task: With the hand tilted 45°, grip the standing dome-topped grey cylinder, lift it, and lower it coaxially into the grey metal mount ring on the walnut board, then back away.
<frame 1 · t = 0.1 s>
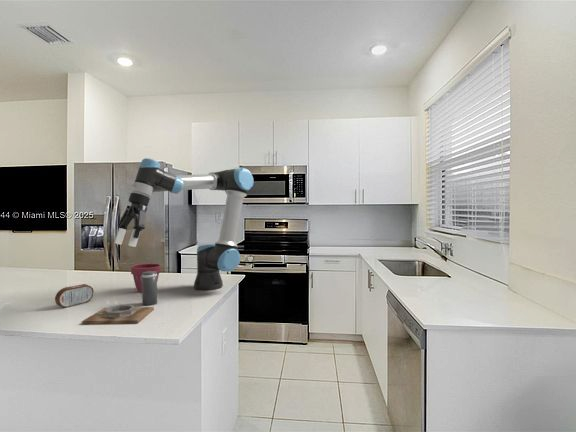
hand: (124, 245, 128), 28 cm above the countertop, tool tilted 20°, fingers open, 13 cm apart
plant pot: (146, 290, 167), on the countertop
dome-topped grey cylinder: (149, 303, 143), on the countertop
mount board: (120, 316, 126), on the countertop
tin: (75, 305, 141), on the countertop
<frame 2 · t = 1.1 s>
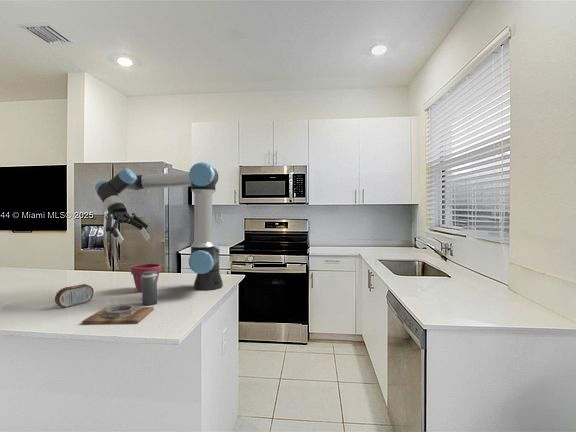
hand: (135, 240, 147), 28 cm above the countertop, tool tilted 45°, fingers open, 13 cm apart
nothing on the countertop moved.
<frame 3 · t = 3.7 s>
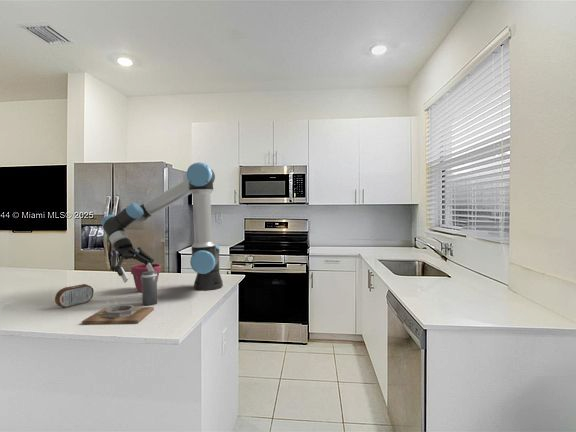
hand: (140, 277, 145), 11 cm above the countertop, tool tilted 45°, fingers open, 13 cm apart
nothing on the countertop moved.
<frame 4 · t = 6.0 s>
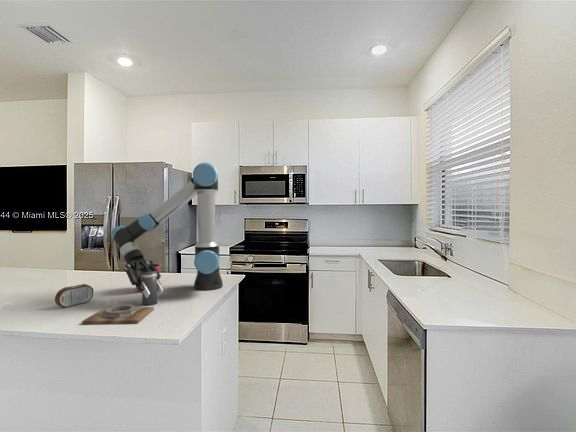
hand: (154, 293, 141), 5 cm above the countertop, tool tilted 45°, fingers closed on dome-topped grey cylinder, 6 cm apart
dome-topped grey cylinder: (149, 303, 143), on the countertop, touching gripper
everything else where it was.
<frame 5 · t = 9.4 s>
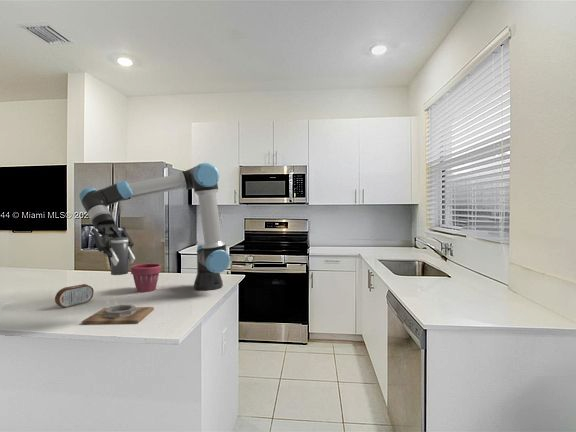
hand: (125, 262, 124), 22 cm above the countertop, tool tilted 45°, fingers closed on dome-topped grey cylinder, 6 cm apart
dome-topped grey cylinder: (119, 273, 126), point 17 cm above the countertop, touching gripper
everything else where it was.
when the fingers open (9 cm above the countertop, at t = 12.8 s): dome-topped grey cylinder drops 3 cm, resting on mount board.
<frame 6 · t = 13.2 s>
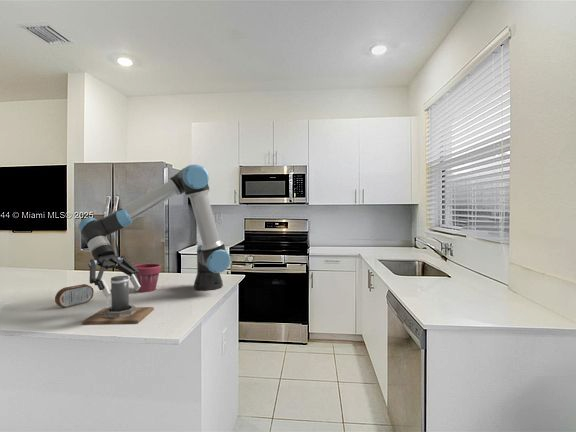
hand: (124, 292, 124), 10 cm above the countertop, tool tilted 45°, fingers open, 11 cm apart
dome-topped grey cylinder: (120, 312, 126), point 1 cm above the countertop, touching mount board
everything else where it was.
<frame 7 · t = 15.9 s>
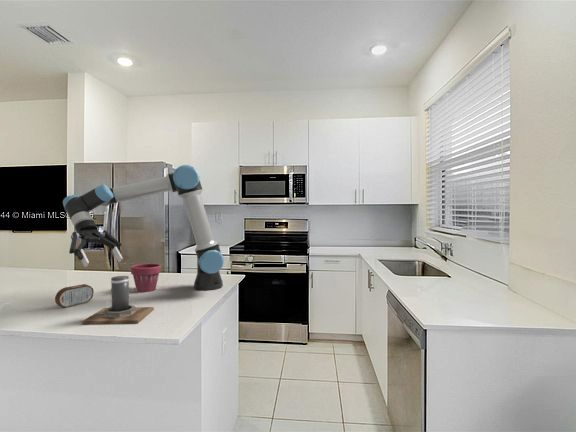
hand: (104, 262, 131), 20 cm above the countertop, tool tilted 45°, fingers open, 13 cm apart
nothing on the countertop moved.
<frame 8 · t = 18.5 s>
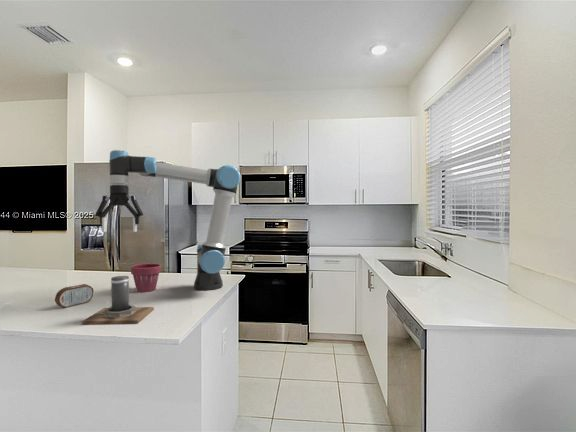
hand: (119, 231, 147), 32 cm above the countertop, tool pointing down, fingers open, 13 cm apart
nothing on the countertop moved.
at the end: dome-topped grey cylinder 0.1 cm off-centre on the mount board, point 1.4 cm above the mount board's base; dome-topped grey cylinder tilted 0°; the gripper is holding nothing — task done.
